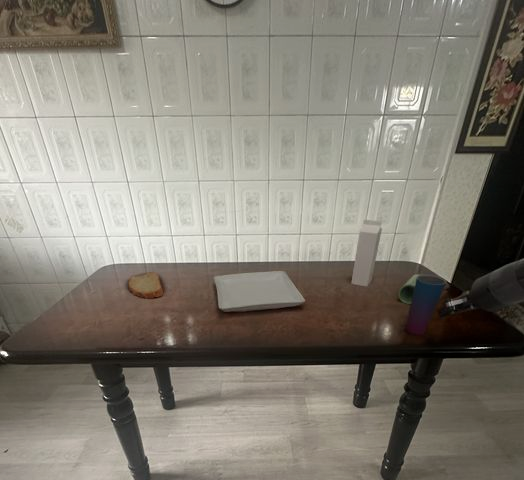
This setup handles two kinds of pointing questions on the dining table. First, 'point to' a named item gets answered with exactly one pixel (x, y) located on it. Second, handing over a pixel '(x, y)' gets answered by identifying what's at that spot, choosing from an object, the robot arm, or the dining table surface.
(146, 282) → the bread slice
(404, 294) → the green cup
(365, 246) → the milk
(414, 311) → the cup
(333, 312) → the dining table surface
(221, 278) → the square plate
